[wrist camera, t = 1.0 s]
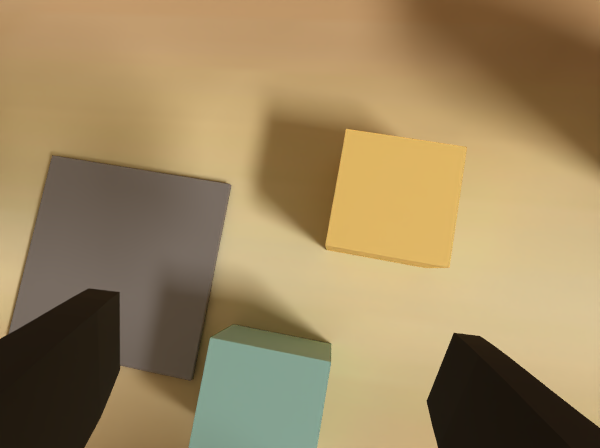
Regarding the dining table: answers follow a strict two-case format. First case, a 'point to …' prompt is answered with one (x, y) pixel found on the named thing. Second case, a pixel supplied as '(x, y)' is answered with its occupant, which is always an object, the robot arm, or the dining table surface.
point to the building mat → (128, 255)
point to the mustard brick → (396, 199)
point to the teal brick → (261, 391)
